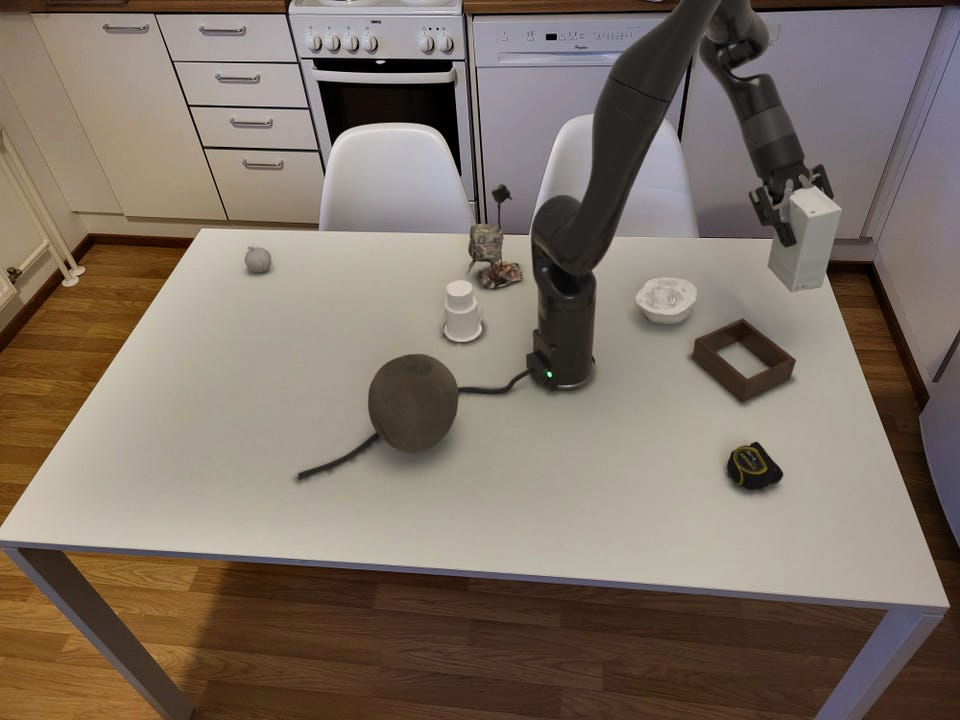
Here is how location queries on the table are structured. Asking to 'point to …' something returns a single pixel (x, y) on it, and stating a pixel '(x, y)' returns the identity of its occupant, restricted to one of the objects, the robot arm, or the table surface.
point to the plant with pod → (492, 248)
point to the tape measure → (753, 467)
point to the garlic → (258, 259)
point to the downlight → (461, 313)
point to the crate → (756, 344)
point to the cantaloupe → (413, 402)
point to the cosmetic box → (806, 240)
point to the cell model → (667, 299)
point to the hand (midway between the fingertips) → (808, 238)
